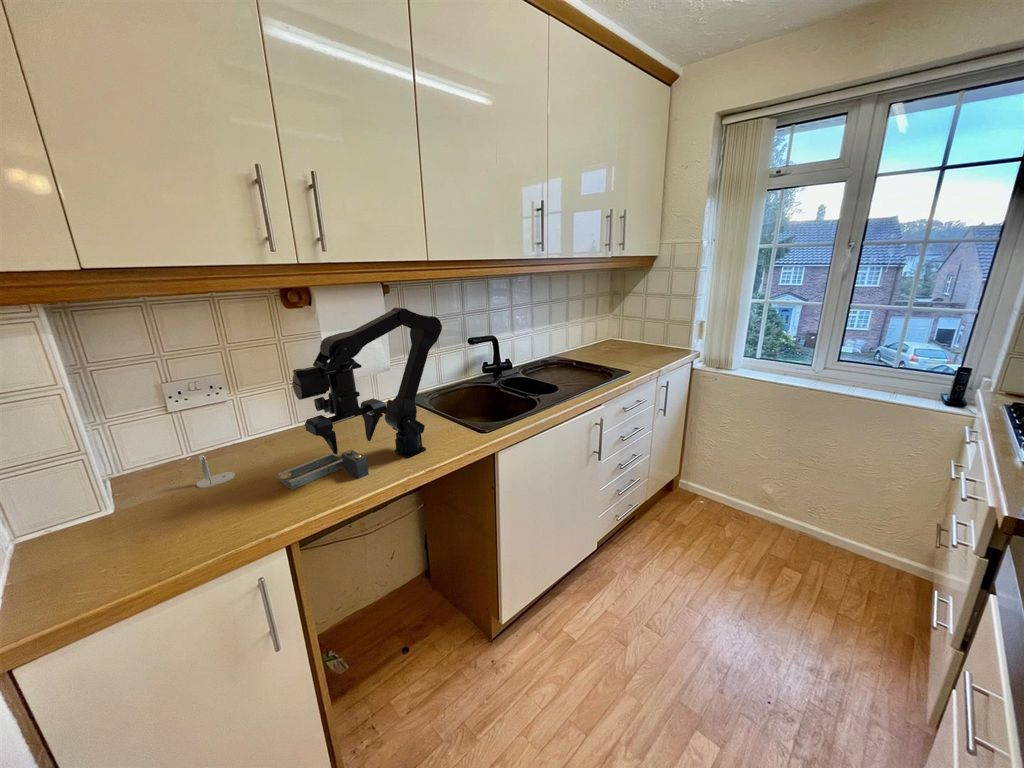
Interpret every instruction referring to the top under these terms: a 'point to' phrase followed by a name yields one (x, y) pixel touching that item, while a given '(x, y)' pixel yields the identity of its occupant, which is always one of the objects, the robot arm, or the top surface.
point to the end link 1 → (304, 479)
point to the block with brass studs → (355, 464)
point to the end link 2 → (330, 458)
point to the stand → (212, 479)
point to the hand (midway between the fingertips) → (352, 447)
